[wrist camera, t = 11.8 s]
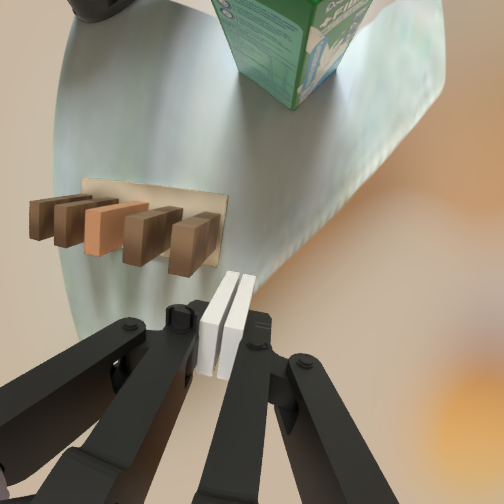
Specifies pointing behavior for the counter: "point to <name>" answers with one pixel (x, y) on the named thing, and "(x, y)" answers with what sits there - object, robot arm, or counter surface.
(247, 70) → the milk carton
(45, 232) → the domino
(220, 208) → the birch board
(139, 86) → the counter surface
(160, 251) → the domino
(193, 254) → the domino
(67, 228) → the domino
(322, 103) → the counter surface
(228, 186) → the counter surface
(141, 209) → the rust tile
